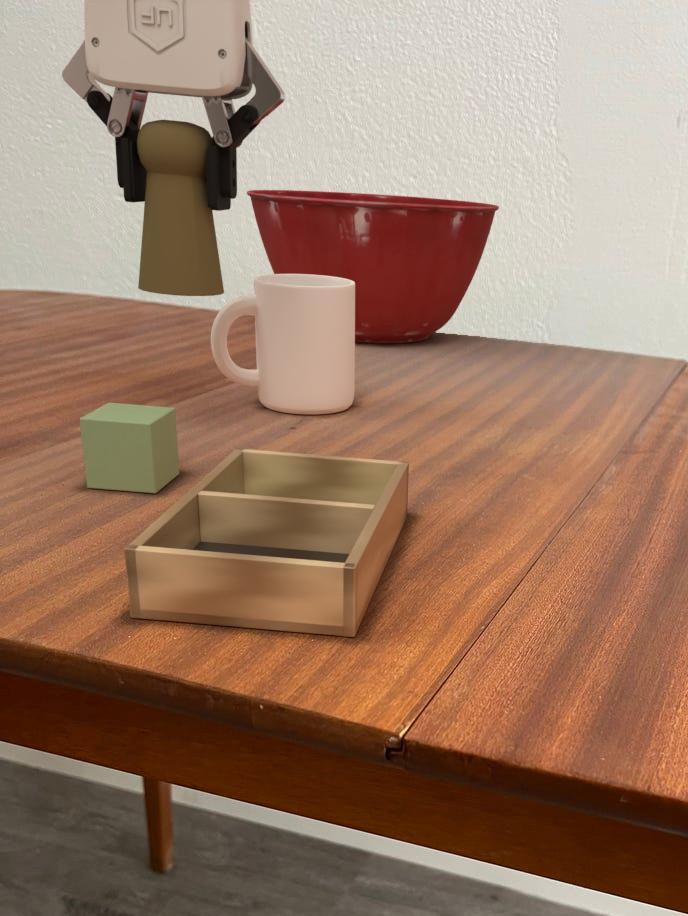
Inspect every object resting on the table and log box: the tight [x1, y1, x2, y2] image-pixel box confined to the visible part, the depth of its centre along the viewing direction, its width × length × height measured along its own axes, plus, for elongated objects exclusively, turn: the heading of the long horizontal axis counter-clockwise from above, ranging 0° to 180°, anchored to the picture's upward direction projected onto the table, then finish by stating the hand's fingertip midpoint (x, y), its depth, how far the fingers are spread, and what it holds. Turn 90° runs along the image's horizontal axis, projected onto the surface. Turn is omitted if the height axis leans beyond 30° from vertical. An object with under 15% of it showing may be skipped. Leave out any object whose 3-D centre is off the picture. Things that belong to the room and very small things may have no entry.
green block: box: [79, 402, 180, 494], centre depth 66 cm, size 4×4×4 cm
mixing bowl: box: [246, 189, 500, 344], centre depth 120 cm, size 28×28×15 cm
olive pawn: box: [137, 119, 225, 297], centre depth 72 cm, size 6×6×11 cm
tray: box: [123, 447, 410, 638], centre depth 55 cm, size 11×18×4 cm, turn 176°
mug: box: [210, 273, 356, 416], centre depth 86 cm, size 12×8×10 cm
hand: (178, 202), depth 72 cm, fingers closed on olive pawn, 5 cm apart
